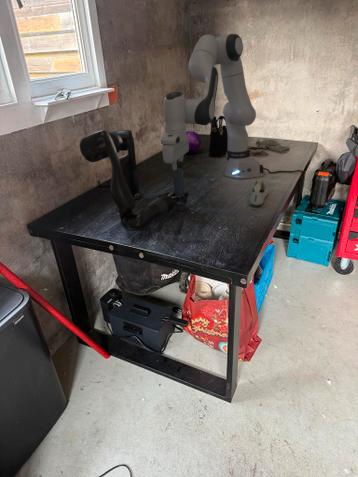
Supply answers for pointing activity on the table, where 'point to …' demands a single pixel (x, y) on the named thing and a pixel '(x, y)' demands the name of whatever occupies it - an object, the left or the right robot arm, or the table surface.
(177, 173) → the bottle
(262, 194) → the ballet flat
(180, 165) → the cap
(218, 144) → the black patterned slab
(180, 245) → the table surface
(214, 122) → the boot
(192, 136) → the decorative orb
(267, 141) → the pair of gloves
